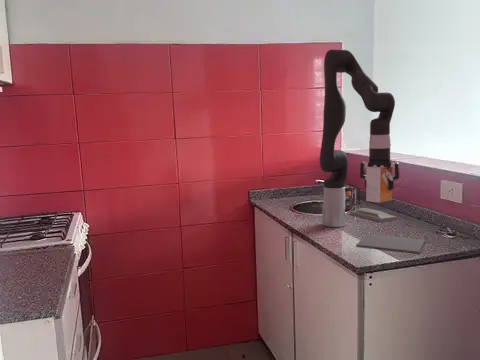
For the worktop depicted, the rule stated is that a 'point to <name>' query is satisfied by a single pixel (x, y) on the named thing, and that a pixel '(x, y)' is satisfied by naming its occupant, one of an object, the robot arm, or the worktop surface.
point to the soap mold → (372, 215)
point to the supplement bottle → (347, 198)
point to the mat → (391, 243)
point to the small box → (378, 184)
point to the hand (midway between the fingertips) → (379, 189)
